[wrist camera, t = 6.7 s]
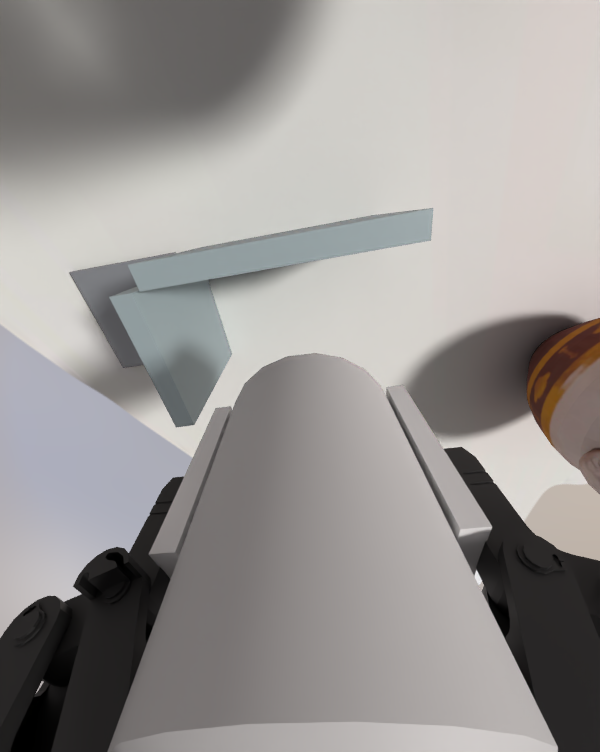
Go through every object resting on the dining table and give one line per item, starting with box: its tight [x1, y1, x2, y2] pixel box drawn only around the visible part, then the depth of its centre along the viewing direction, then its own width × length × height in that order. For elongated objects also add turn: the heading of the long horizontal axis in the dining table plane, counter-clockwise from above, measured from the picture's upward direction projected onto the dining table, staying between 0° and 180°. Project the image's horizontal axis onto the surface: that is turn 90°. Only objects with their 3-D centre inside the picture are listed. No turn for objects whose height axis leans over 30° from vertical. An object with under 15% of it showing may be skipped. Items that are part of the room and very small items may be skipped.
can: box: [108, 353, 558, 752], centre depth 8 cm, size 8×8×12 cm
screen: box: [109, 208, 433, 427], centre depth 25 cm, size 13×20×14 cm, turn 99°
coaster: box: [70, 252, 176, 368], centre depth 32 cm, size 12×12×1 cm
